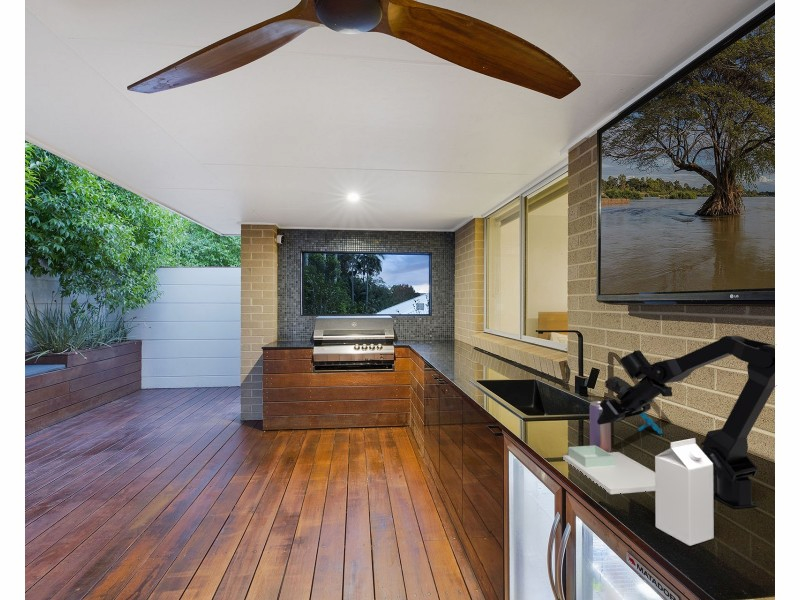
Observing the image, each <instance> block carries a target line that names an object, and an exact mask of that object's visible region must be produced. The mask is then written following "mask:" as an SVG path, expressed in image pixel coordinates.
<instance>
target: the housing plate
mask: <svg viewBox="0 0 800 600" xmlns="http://www.w3.org/2000/svg"><path fill="white" fill-rule="evenodd" d="M567 451H568V453H567V454H568V455H562V457H563V458H562V459H563V461H564V460H565V462H566V463H567V462H568V463H567V464H569V465H570V464H571V465H572V466H571V465H570V466H571V467H573V466H574V467H575V468H576V469H575V468H574V467H573V468H574V469H575V470H577V469H578V470H579V471H578V470H577V471H578V472H580V471H581V472H582V473H583V474H582V473H581V472H580V473H581V474H582V475H584V476H585V475H586V476H587V477H586V476H585V477H586V478H588V479H589V478H590V479H591V480H590V479H589V480H590V481H592V482H593V481H594V483H595V484H596V483H597V484H598V485H597V484H596V485H597V486H599V487H600V486H601V487H602V489H603V488H604V489H605V490H606V492H607V493H608V494H609V495H618V494H619V495H620V493H621V494H631V493H645V491H646V492H655V470H654V471H653V470H652V469H651V468H648V467H647V466H644V465H643V464H641V463H639V462H637V461H635V460H634V459H632V458H630V457H628V456H626V455H625V454H623V453H622V452H620V451H613V452H612V451H610V453H608V452H606V451H604V450H603V449H601V448H599V447H598V446H596V445H593V446H590V445H581V446H580V445H579V446H568V449H567ZM601 487H600V488H601ZM604 489H603V490H604ZM605 490H604V491H605Z"/></svg>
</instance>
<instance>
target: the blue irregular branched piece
mask: <svg viewBox="0 0 800 600" xmlns="http://www.w3.org/2000/svg"><path fill="white" fill-rule="evenodd" d="M639 416H641V418H642V420H643V421H644V424H642V425H641V426H640V427H638V429H637V430H638V431H639V432H642V431H643V430H644V429H645V428H647V427H648V428H649V427H652V429H653V430H654V431H656V432H657V434H659V435H663V430H662V429H661V428H660V427H659V425H658V424H656V423H655V422H654V420H653V419H652V418H651V417H649V415H647V414H646V413H642V414H639Z"/></svg>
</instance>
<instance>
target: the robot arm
mask: <svg viewBox="0 0 800 600" xmlns="http://www.w3.org/2000/svg"><path fill="white" fill-rule="evenodd" d="M775 345H776V344H772V343H768V342H764V341H759V340H755V339H751V338H747V337H743V336H741V335H736V334H735V335H725V336H722V337H721V338H720V339H718V340H716V341H713V342H711V343H709V344H707V345H704V346H701V347H700V348H697V349H696V350H695V349H694V350H693V351H691V352H689V353H686V354H684V355H682V356H679V357H675V358H671V359H665V360H661V361H657V362H654V363H652V364H651V363H650V362H649V360H648V359H647V358H646V356H645V355H644V353H643V352H642V351H641V350H639V349H638V350H634V351H632V352H631V353H628V354H626V355H625V356H622V357H621V358H620V360H619V364H620V365H621V366H622V367H623V369H624V370H625V371H626V373H627V374H628V375H629V376H630V378H631V379H634V380H635V379H637V383H635V384H634V385H631V384H630V383H629V382H627V381H626V380H624V379H622V378H621V377H619V376H618V375H617V376H610V377H609V378H607V380H605V381H604V385H605V386H604V387H605V388H606V389H607V390H610V391H611V392H613V393H614V394H616V395H615V397H616V399H618V400H619V402H620V404H619V403H618V401H617V400H616V399H615V398H610V397H609V398H604V399H603V400H601V401H600V406H601V408H602V409H603V411H602V413H601V415H600V417H599V419H598V420H597V423H598V424H599V425H601V424H606V423H611V424H612V423H615V422H618V421H621V420H623V419H626V418H630V417H634V416H638V415H639V416H640V414H642V413H644V414H646V413H647V412H649V411H650V410H651V409H652V408H651V407H652V405H651V403H653V400H655V399H656V398H657V397H658V396H659V395H661V396H662V397H668V398H669V397H672V396H673V391H672V389H673V387H672V386H668V385H667V384H669V383H678V382H681V381H683V380H684V379H686V378H688V377H689V376H690V375H692V373H693V372H694V371H696V370H698V369H700V368H702V367H705V366H707V365H710V364H712V363H713V364H714V362H718V361H720V360H722V359H724V358H726V357H731V356H733V357H735V358H737V359H738V360H740V361H742V362H745V363H747V365H746V369H747V377H748V378H747V380H746V382H745V384H744V386H743V388H742V390H741V391H740V393H739V396H738V398H737V399H736V401H735V404H734V405H733V407H732V409H731V411H730V413H729V414H728V417H727V418H726V420H725V422H724V425H723V426H722V428H718V429H712V430H708V431H707V433H706V435H705V438H704V441H702V442H701V443H700V445H701V446H702V449H701V450H702V451H703V453H704V454H705V455H706V456H707V457H708V458H709V459H710V461H711V462H712V463H713V499H716V500H717V501H719V502H721V503H723V504H725V505H726V506H728V507H730V508H733V509H741V508H743V509H744V508H751V507H753V508H754V507H755V508H756V507H758V503H756V502H754V501H752V479H750V478H749V477H754V476H756V475H757V474H758V470H759V468H758V467H757V465H756V464H755V463H754V462H753V461H752V460H751V459H750V457H749V456H748V455H747V453H748V450H749V444H748V436H749V434H750V432H751V430H752V429H753V427H754V425H755V423H756V422H757V420H758V418H759V416H760V414H761V413H762V412H763V409H764V407H765V405H766V404H767V402H768V400H769V398H770V397H771V395H772V393H773V391H774V390H775V388H776V386H775ZM638 380H639V381H638Z"/></svg>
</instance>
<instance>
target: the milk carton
mask: <svg viewBox="0 0 800 600" xmlns="http://www.w3.org/2000/svg"><path fill="white" fill-rule="evenodd" d="M696 442H697V441H696V437H694V438H688V439H682V440H678V441H677V440H676V441H672V442H670V448H668V449H666V450H664V451H663V452H660V453H659V454H656V455H655V456H654V458H655V459H654V467H655V470H654V472H655V491H654V492H655V493H654V494H655V496H654V497H655V498H654V499H655V503H654V504H655V506H654V508H655V528H657V529H659V530H660V531H662V532H664V533H665V534H667V535H669V536H672V537H673V538H675V539H676V540H678V541H680V542H682V543H684V544H685V545H687V546H689V547H690V546H693V545H697V544H700V543H703V542H706V541H709V540H713V539H714V538H715V537H714V536H715V535H714V532H715V531H714V529H715V528H714V527H715V526H714V521H715V519H714V518H715V517H714V498H713V493H714V475H713V463H712V462H711V461H710V459H709V458H708V457H707V456H706V455H705V454H704V453H703V451H702V449H701V448H700V446H699V445H698V444H697V443H696Z"/></svg>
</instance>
